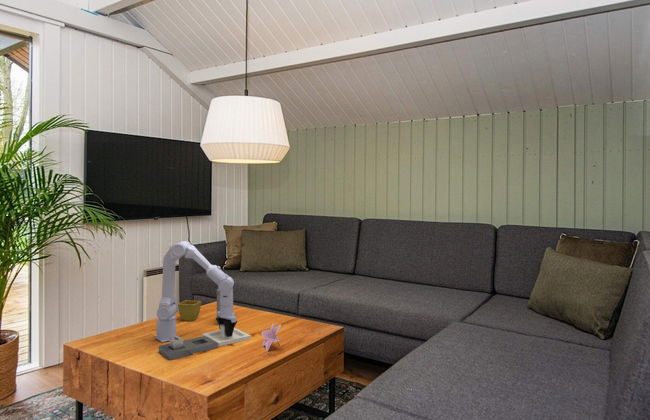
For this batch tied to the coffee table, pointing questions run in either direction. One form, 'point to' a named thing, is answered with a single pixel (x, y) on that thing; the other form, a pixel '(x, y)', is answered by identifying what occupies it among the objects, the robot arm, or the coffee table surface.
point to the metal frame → (188, 347)
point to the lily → (270, 336)
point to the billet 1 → (176, 343)
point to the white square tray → (237, 337)
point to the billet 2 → (224, 332)
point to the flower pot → (189, 310)
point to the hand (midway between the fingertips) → (226, 334)
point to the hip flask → (218, 301)
